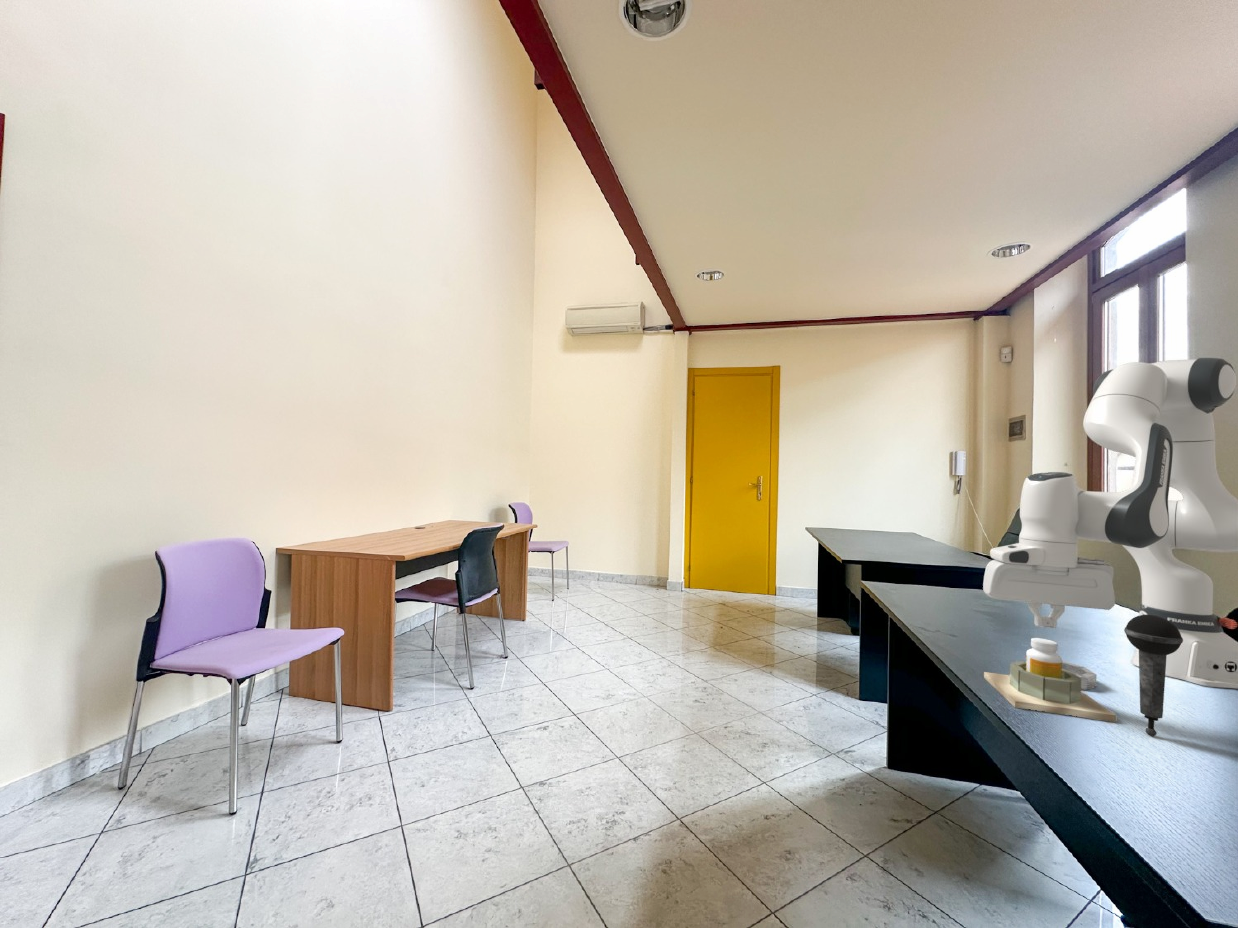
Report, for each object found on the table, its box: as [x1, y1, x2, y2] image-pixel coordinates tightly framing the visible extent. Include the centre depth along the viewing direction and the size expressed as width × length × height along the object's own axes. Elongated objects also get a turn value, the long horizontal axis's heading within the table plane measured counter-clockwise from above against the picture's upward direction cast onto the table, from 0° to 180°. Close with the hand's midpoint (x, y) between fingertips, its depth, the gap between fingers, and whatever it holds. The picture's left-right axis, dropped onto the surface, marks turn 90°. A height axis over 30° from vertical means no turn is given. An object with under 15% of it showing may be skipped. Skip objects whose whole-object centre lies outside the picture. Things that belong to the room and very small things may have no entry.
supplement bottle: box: [1025, 637, 1063, 679], centre depth 100 cm, size 5×5×10 cm
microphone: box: [1123, 615, 1183, 737], centre depth 86 cm, size 7×7×20 cm
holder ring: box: [1062, 660, 1097, 691], centre depth 110 cm, size 10×10×2 cm
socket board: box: [983, 660, 1117, 723], centre depth 100 cm, size 15×15×5 cm
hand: (1045, 626), depth 100 cm, fingers closed
